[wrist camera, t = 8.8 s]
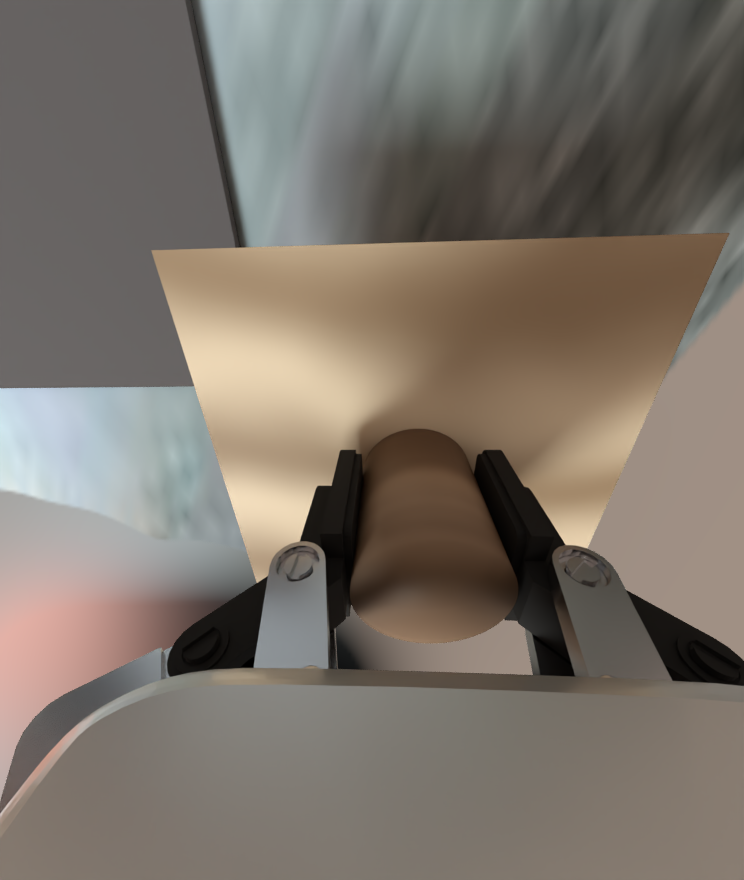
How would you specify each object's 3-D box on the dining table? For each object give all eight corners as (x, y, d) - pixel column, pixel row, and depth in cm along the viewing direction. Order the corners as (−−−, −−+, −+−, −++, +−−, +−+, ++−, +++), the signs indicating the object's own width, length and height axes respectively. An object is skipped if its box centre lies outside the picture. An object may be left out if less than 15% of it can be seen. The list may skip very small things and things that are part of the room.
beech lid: (168, 251, 9) (-93, 238, 4) (701, 235, 9) (1152, 197, 4) (266, 580, 17) (213, 718, 12) (555, 586, 16) (633, 735, 11)
